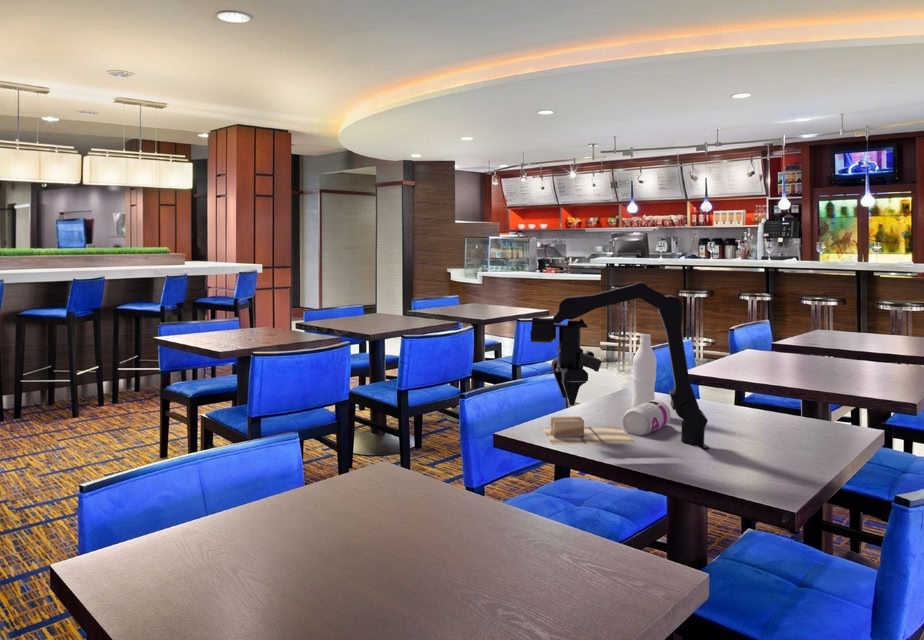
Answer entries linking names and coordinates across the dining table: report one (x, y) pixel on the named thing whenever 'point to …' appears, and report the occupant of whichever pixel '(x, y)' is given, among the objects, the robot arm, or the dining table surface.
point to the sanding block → (567, 427)
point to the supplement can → (646, 418)
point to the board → (593, 436)
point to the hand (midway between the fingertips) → (568, 401)
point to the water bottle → (644, 372)
